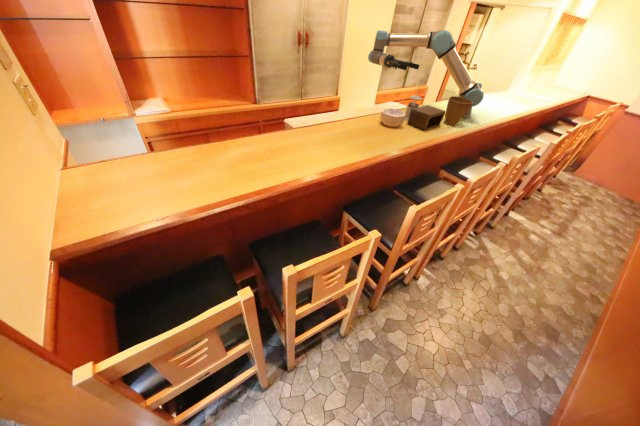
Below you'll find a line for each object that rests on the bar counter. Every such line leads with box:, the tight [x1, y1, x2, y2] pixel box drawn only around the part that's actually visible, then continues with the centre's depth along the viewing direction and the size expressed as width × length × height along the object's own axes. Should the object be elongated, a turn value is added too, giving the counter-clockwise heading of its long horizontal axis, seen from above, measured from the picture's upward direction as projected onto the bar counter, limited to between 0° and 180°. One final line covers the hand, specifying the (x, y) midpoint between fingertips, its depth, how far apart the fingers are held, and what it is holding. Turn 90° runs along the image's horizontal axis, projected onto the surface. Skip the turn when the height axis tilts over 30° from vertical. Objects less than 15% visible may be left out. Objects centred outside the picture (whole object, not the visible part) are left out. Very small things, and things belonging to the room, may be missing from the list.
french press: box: [404, 79, 424, 121], centre depth 163 cm, size 10×12×25 cm
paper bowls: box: [379, 107, 405, 128], centre depth 157 cm, size 15×15×8 cm
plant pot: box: [444, 95, 473, 126], centre depth 166 cm, size 15×15×16 cm
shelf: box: [406, 105, 446, 132], centre depth 160 cm, size 19×13×10 cm
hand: (412, 67), depth 157 cm, fingers open, 13 cm apart
